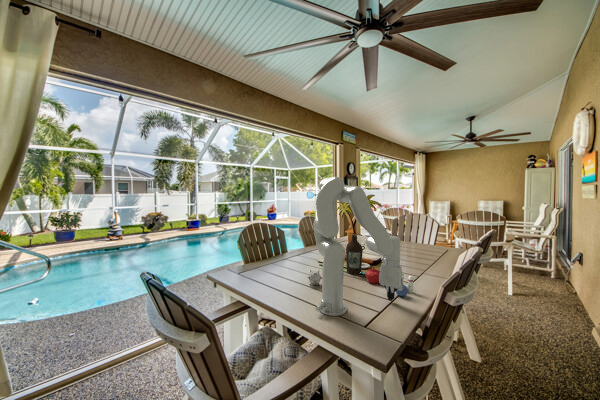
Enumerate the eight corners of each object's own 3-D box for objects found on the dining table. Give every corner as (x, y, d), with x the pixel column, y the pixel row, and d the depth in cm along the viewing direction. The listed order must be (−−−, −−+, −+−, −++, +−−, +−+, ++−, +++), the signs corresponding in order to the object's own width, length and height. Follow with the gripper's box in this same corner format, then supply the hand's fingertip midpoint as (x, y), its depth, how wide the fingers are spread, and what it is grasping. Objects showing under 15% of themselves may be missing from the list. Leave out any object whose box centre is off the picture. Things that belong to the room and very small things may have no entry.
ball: (410, 293, 122) (404, 300, 119) (398, 288, 127) (393, 295, 123) (409, 284, 120) (404, 292, 117) (397, 279, 124) (392, 287, 121)
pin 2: (412, 293, 124) (412, 277, 124) (407, 292, 126) (407, 276, 125) (413, 292, 126) (414, 276, 125) (408, 290, 128) (409, 275, 127)
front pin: (405, 288, 125) (411, 283, 131) (400, 287, 126) (406, 282, 132) (405, 293, 125) (411, 288, 131) (400, 292, 126) (406, 287, 132)
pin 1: (402, 290, 128) (402, 275, 127) (397, 289, 129) (398, 274, 129) (404, 289, 129) (404, 274, 129) (399, 288, 131) (399, 272, 131)
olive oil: (345, 269, 162) (346, 232, 161) (361, 270, 160) (362, 233, 158) (345, 274, 151) (346, 235, 150) (362, 275, 149) (363, 236, 148)
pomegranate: (384, 286, 134) (384, 270, 134) (365, 284, 136) (366, 268, 136) (381, 279, 144) (382, 264, 143) (364, 277, 146) (365, 263, 145)
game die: (316, 292, 134) (316, 282, 128) (304, 284, 138) (304, 274, 132) (324, 280, 139) (325, 271, 133) (313, 273, 143) (313, 263, 137)
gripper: (373, 260, 116) (372, 297, 117) (404, 267, 106) (403, 307, 107) (380, 257, 122) (379, 292, 122) (410, 263, 111) (409, 302, 112)
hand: (390, 299), depth 115 cm, fingers closed
